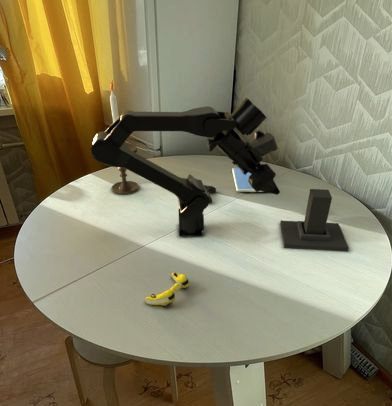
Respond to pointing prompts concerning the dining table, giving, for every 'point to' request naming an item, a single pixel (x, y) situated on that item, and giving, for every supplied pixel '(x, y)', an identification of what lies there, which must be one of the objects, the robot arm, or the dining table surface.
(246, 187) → the tablet
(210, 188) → the gaming controller
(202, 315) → the dining table surface
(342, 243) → the base pad
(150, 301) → the yellow toy animal
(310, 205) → the dark rectangular block
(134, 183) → the candlestick
